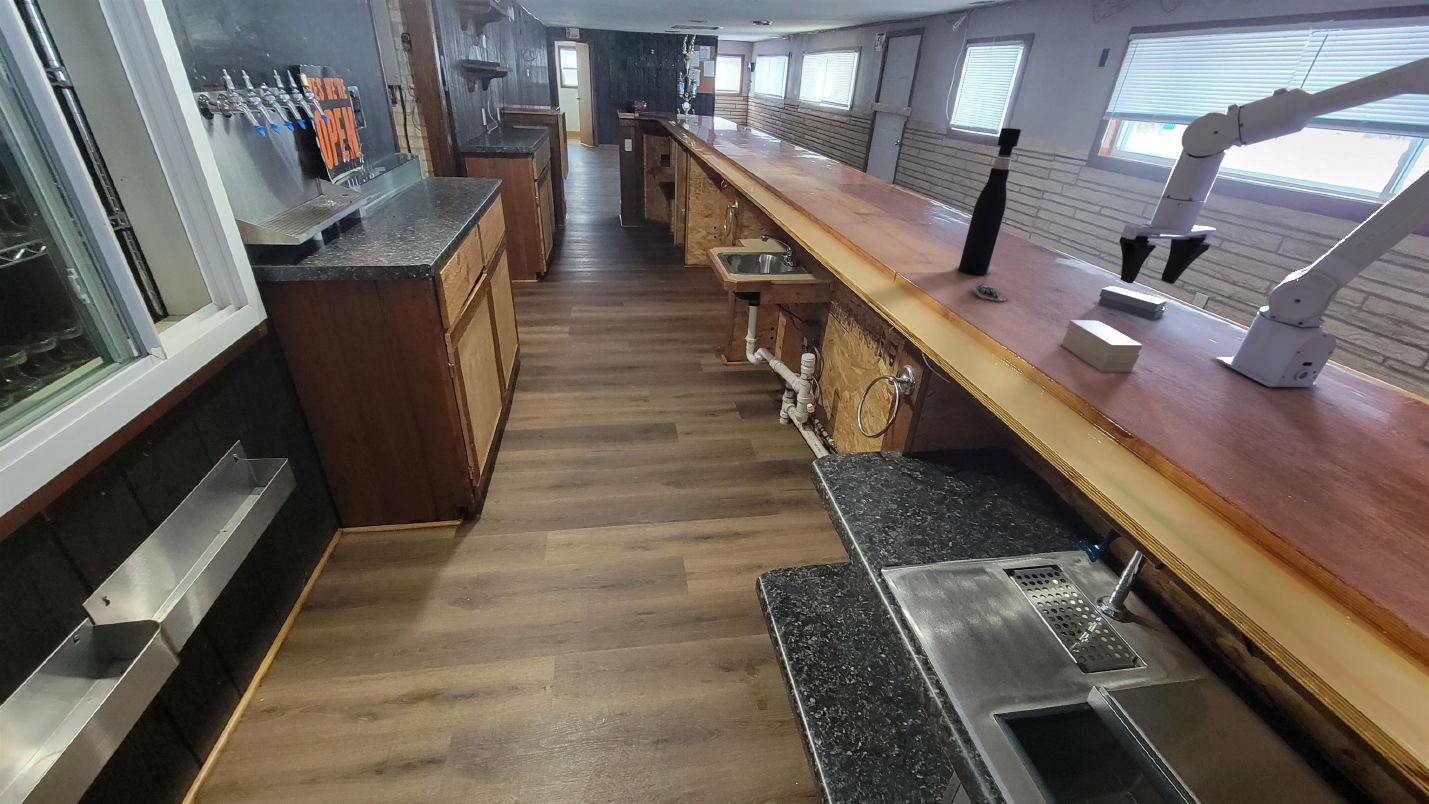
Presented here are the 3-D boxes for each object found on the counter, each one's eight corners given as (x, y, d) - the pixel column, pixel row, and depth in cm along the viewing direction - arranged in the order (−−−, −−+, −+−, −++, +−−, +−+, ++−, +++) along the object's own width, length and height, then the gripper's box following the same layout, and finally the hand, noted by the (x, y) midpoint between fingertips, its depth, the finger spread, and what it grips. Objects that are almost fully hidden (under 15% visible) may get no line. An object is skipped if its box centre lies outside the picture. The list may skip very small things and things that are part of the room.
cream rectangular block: (1132, 372, 86) (1140, 354, 85) (1101, 372, 86) (1108, 354, 84) (1088, 344, 95) (1095, 328, 94) (1060, 344, 95) (1066, 328, 93)
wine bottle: (952, 268, 133) (988, 127, 118) (972, 266, 135) (1009, 127, 120) (973, 276, 128) (1013, 130, 113) (993, 273, 130) (1035, 130, 115)
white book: (1139, 353, 85) (1142, 345, 84) (1108, 353, 85) (1111, 345, 84) (1095, 328, 94) (1098, 320, 93) (1066, 327, 93) (1069, 320, 92)
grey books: (1162, 316, 109) (1169, 300, 108) (1152, 320, 107) (1159, 304, 105) (1105, 300, 116) (1112, 285, 115) (1096, 303, 114) (1102, 288, 113)
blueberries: (987, 288, 120) (990, 279, 120) (1016, 300, 114) (1019, 291, 113) (962, 290, 118) (964, 281, 117) (990, 303, 112) (993, 293, 111)
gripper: (1203, 195, 93) (1167, 275, 100) (1122, 192, 92) (1091, 274, 99) (1241, 203, 87) (1200, 288, 94) (1156, 201, 86) (1120, 287, 92)
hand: (1146, 281), depth 96 cm, fingers open, 7 cm apart
